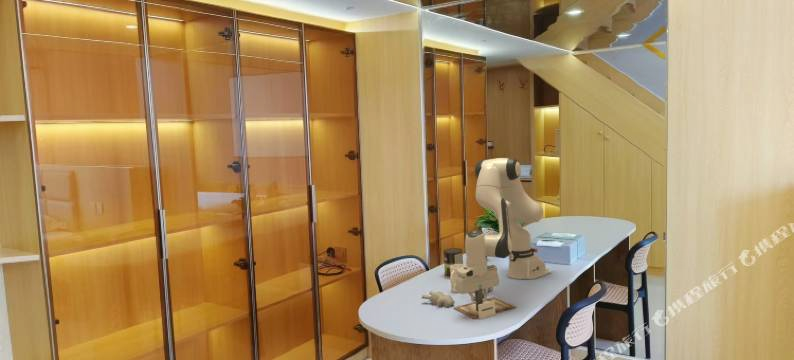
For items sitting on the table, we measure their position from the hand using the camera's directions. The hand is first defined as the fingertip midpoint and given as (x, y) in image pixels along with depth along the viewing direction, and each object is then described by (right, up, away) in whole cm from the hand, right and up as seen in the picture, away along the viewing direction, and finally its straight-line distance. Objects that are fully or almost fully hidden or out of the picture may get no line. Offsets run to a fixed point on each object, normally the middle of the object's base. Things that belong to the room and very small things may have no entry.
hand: (478, 299), depth 234 cm
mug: (-6, -3, +31) cm, 32 cm away
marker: (0, -5, 0) cm, 5 cm away
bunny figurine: (-16, -5, +14) cm, 22 cm away
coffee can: (-5, 0, +56) cm, 56 cm away
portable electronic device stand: (+5, -2, +27) cm, 28 cm away
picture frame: (+3, -5, +4) cm, 7 cm away
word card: (+3, -6, -6) cm, 9 cm away
